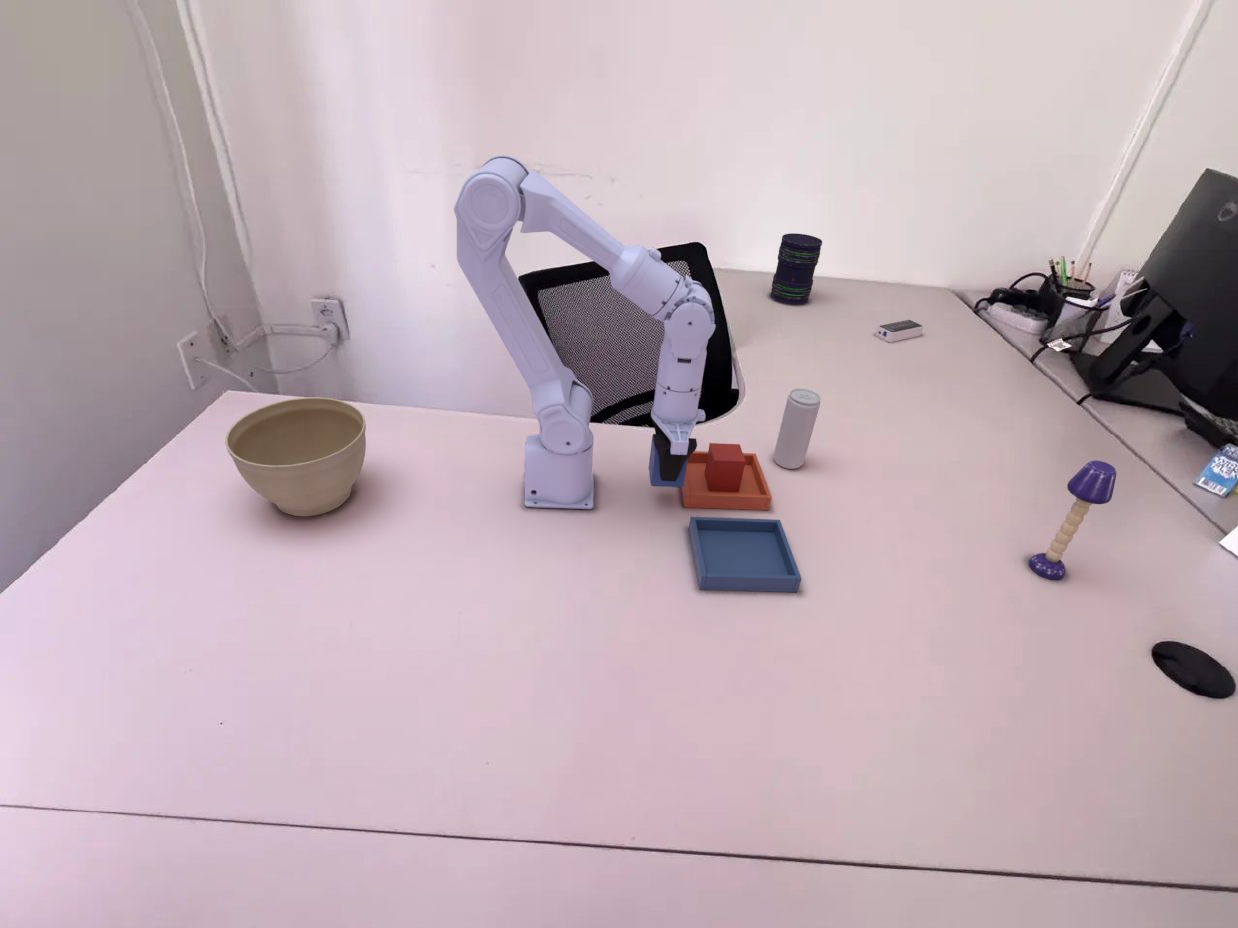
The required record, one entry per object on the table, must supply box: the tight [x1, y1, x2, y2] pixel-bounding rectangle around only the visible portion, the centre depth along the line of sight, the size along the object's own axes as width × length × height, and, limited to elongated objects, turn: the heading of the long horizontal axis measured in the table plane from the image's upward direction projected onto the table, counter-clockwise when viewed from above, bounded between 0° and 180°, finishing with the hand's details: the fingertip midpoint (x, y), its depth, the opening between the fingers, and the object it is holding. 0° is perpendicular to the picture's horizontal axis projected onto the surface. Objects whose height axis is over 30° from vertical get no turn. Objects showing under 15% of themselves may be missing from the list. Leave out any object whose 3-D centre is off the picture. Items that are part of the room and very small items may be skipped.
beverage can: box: [772, 388, 822, 470], centre depth 100 cm, size 5×5×12 cm
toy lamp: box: [1028, 459, 1117, 581], centre depth 82 cm, size 5×5×17 cm
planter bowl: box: [224, 396, 367, 517], centre depth 85 cm, size 16×16×11 cm
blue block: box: [648, 435, 688, 488], centre depth 90 cm, size 4×4×6 cm
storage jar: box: [769, 232, 823, 306], centre depth 162 cm, size 10×10×15 cm
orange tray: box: [680, 450, 773, 511], centre depth 97 cm, size 12×11×2 cm
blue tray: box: [688, 516, 802, 593], centre depth 83 cm, size 12×11×2 cm
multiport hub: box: [875, 319, 924, 343], centre depth 150 cm, size 4×11×2 cm, turn 120°
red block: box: [704, 442, 746, 492], centre depth 95 cm, size 4×4×6 cm
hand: (666, 469), depth 90 cm, fingers closed on blue block, 4 cm apart
